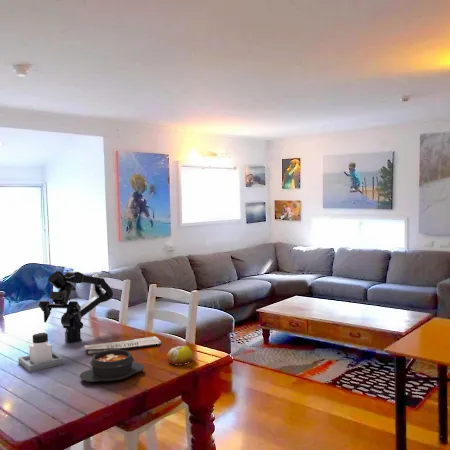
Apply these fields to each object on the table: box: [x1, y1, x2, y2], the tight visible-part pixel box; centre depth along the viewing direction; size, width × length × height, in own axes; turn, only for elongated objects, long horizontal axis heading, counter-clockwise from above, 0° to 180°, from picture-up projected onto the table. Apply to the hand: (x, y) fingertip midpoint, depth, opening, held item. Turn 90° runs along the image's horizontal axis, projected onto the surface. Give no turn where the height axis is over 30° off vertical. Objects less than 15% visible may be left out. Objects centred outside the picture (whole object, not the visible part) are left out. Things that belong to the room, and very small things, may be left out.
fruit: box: [166, 345, 194, 366], centre depth 202 cm, size 11×10×8 cm
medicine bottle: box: [29, 332, 53, 364], centre depth 202 cm, size 7×7×12 cm
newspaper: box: [84, 336, 162, 355], centre depth 222 cm, size 35×12×4 cm, turn 114°
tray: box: [17, 350, 64, 373], centre depth 202 cm, size 14×14×2 cm
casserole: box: [79, 349, 144, 383], centre depth 187 cm, size 25×19×8 cm
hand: (54, 322), depth 217 cm, fingers open, 9 cm apart
